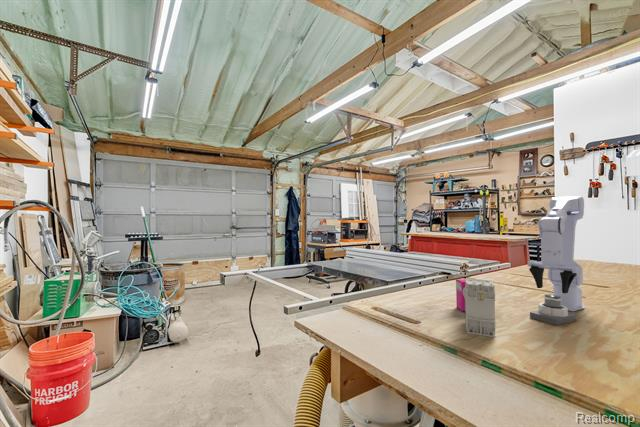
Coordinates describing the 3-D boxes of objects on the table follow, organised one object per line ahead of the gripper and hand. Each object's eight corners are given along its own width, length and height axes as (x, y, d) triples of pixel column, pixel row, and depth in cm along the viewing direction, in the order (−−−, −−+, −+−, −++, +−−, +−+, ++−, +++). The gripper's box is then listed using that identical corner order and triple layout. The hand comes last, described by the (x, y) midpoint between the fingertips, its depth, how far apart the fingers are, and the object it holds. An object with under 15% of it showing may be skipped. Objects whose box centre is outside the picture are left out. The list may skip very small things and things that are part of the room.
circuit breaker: (489, 321, 97) (489, 277, 97) (495, 337, 84) (495, 286, 84) (464, 318, 100) (464, 275, 100) (466, 333, 87) (466, 283, 87)
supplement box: (471, 308, 111) (471, 278, 111) (478, 313, 105) (478, 282, 105) (455, 307, 111) (455, 278, 111) (461, 312, 105) (461, 281, 106)
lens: (548, 310, 102) (547, 293, 102) (563, 313, 98) (563, 296, 98) (542, 312, 100) (541, 295, 100) (557, 316, 96) (557, 298, 96)
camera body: (549, 312, 105) (549, 300, 105) (576, 320, 98) (576, 306, 98) (530, 317, 100) (529, 304, 100) (556, 325, 93) (556, 311, 93)
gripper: (522, 249, 104) (522, 286, 104) (570, 254, 91) (571, 296, 91) (533, 248, 107) (534, 284, 107) (582, 253, 94) (582, 294, 94)
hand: (552, 290), depth 99 cm, fingers open, 7 cm apart
